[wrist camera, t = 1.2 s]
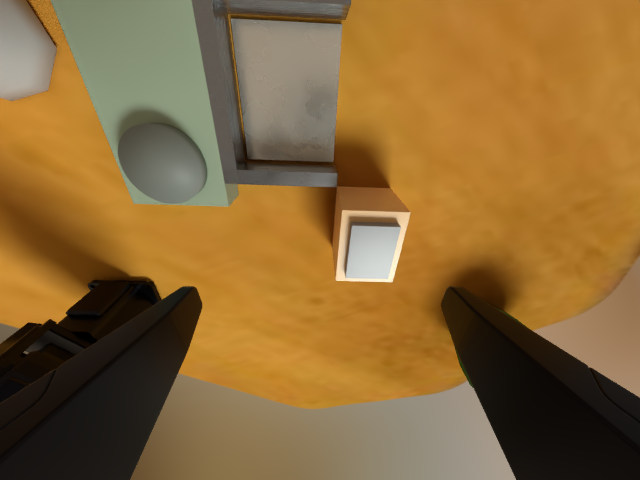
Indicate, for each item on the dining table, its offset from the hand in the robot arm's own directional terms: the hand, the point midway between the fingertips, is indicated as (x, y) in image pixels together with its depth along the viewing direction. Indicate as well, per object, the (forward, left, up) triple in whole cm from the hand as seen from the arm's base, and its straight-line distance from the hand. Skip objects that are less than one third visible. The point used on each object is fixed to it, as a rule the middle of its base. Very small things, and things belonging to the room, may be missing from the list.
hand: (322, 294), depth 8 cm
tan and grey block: (-3, -4, -13) cm, 14 cm away
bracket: (+6, +2, -13) cm, 14 cm away
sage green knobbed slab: (+6, +10, -12) cm, 17 cm away
